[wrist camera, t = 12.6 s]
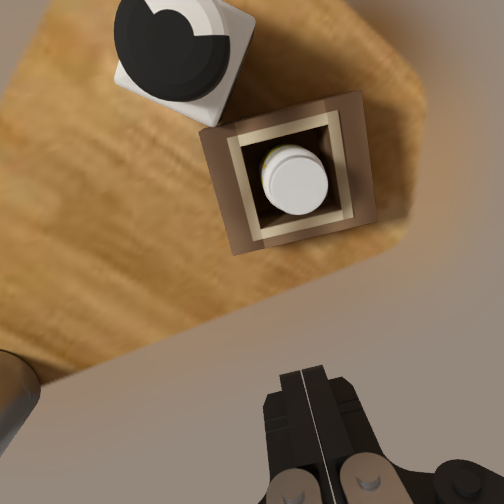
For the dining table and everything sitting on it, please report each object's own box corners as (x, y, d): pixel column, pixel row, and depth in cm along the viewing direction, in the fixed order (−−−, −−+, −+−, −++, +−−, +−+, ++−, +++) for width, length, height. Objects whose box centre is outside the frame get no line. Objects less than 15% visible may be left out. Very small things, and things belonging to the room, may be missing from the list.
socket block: (234, 236, 36) (233, 256, 31) (204, 128, 32) (198, 132, 27) (359, 206, 35) (378, 222, 30) (343, 92, 31) (362, 90, 27)
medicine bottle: (219, 124, 32) (209, 134, 21) (138, 87, 31) (81, 77, 20) (253, 37, 30) (262, -4, 19) (167, -7, 29) (121, -79, 17)
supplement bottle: (303, 200, 35) (322, 227, 27) (253, 189, 34) (257, 214, 26) (317, 148, 33) (342, 160, 25) (265, 135, 33) (274, 144, 25)
